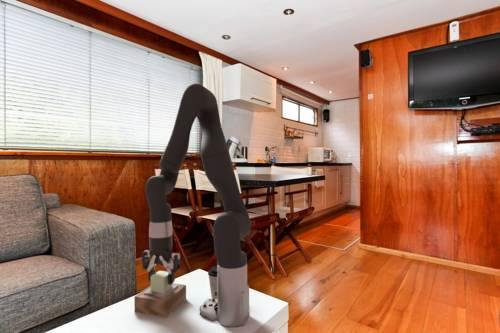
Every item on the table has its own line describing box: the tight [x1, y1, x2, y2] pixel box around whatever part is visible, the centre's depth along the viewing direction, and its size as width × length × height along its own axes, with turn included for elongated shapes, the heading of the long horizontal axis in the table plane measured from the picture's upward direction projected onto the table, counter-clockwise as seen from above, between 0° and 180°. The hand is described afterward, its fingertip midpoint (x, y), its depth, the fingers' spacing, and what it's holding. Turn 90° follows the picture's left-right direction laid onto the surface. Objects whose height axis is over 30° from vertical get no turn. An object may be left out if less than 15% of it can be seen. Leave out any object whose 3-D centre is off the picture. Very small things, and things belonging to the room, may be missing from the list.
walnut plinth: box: [134, 282, 187, 318], centre depth 93 cm, size 12×12×6 cm
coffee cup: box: [207, 265, 217, 299], centre depth 99 cm, size 7×7×10 cm
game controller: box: [199, 298, 218, 321], centre depth 89 cm, size 10×5×6 cm
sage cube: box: [149, 270, 172, 293], centre depth 93 cm, size 5×5×5 cm
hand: (161, 282), depth 93 cm, fingers open, 6 cm apart
